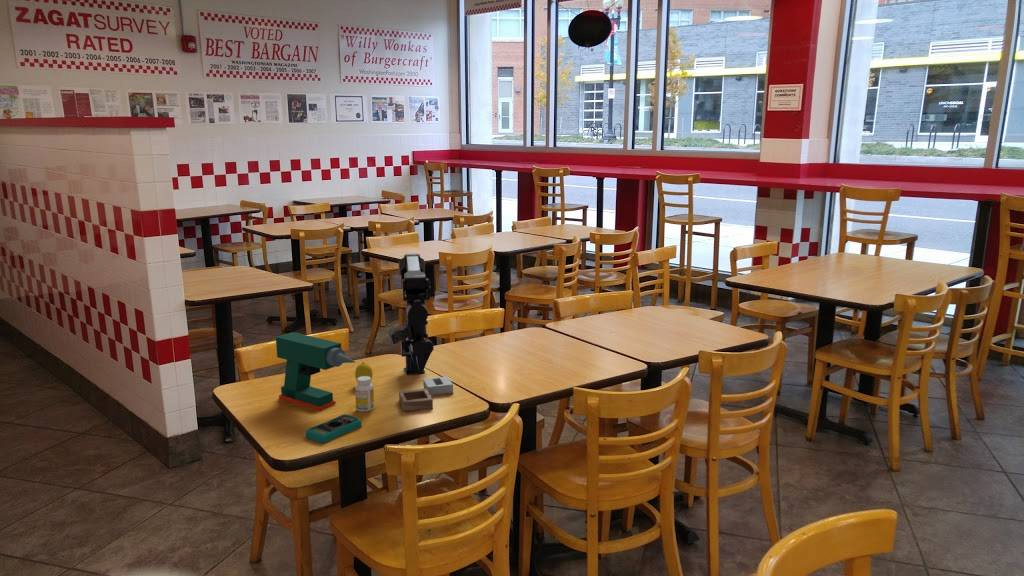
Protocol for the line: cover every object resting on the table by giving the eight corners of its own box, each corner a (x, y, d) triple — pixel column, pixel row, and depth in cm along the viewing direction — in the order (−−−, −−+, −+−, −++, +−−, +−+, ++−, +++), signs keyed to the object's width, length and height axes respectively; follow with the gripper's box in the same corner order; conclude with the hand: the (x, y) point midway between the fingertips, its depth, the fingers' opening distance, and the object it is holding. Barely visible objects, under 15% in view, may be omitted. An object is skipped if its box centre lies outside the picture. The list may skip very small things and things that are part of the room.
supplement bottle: (361, 413, 212) (359, 382, 210) (352, 408, 216) (351, 377, 214) (377, 409, 215) (376, 378, 213) (369, 404, 219) (367, 374, 217)
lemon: (365, 389, 231) (364, 365, 230) (352, 386, 234) (351, 363, 232) (376, 384, 236) (375, 361, 234) (363, 381, 239) (362, 358, 237)
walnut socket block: (399, 400, 222) (398, 391, 221) (426, 397, 224) (426, 388, 224) (404, 412, 212) (404, 402, 212) (432, 409, 215) (432, 399, 214)
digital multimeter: (363, 427, 203) (363, 417, 202) (322, 445, 191) (321, 435, 190) (346, 421, 207) (345, 412, 206) (304, 439, 195) (303, 429, 195)
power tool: (368, 413, 212) (365, 348, 208) (351, 421, 206) (347, 354, 202) (297, 391, 229) (293, 331, 225) (279, 398, 224) (274, 336, 220)
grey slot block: (423, 387, 233) (423, 378, 232) (447, 385, 235) (447, 376, 235) (428, 396, 225) (428, 387, 225) (453, 393, 228) (453, 384, 227)
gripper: (384, 312, 220) (386, 361, 223) (394, 326, 203) (396, 379, 206) (420, 309, 223) (421, 358, 226) (433, 322, 206) (434, 375, 209)
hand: (418, 367), depth 217 cm, fingers open, 9 cm apart
